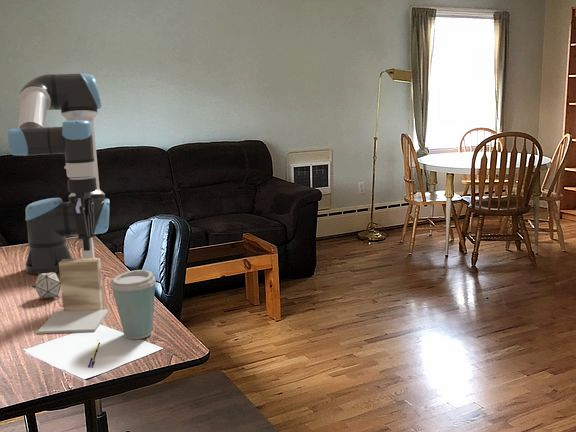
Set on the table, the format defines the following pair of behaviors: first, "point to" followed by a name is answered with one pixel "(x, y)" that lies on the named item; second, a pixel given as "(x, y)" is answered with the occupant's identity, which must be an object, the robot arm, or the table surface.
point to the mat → (73, 321)
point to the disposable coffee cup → (135, 302)
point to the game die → (47, 285)
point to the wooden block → (81, 284)
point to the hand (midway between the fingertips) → (89, 260)
